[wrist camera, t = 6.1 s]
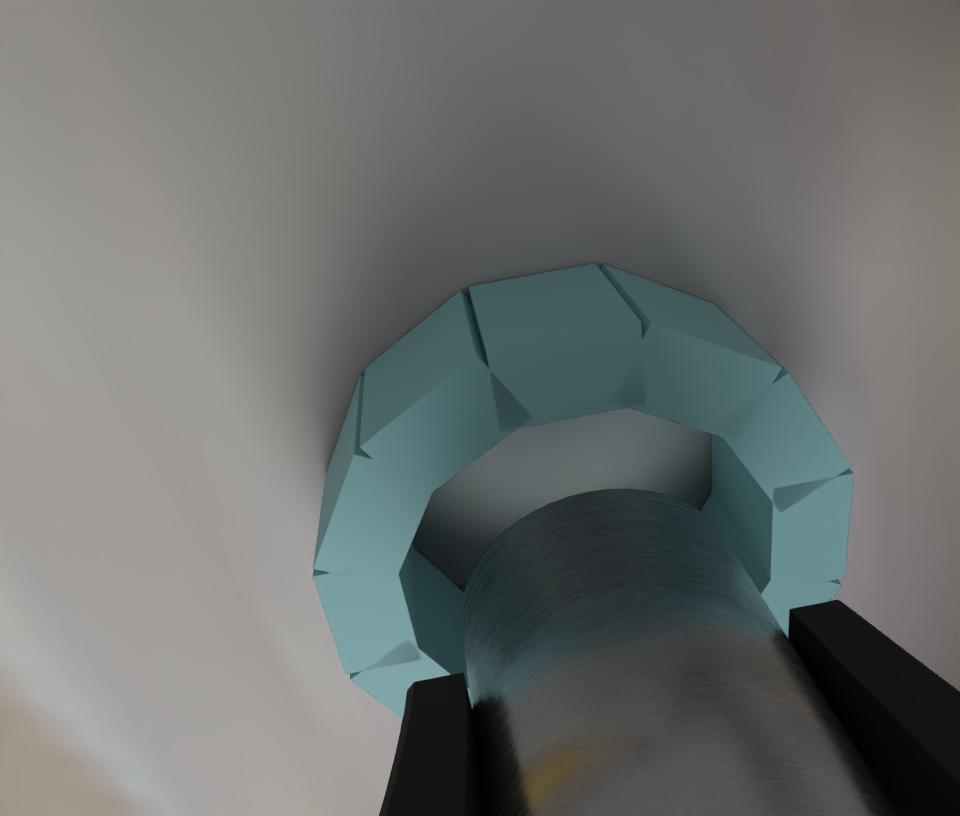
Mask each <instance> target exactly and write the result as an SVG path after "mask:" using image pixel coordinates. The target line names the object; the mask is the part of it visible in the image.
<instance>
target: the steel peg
mask: <svg viewBox="0 0 960 816" xmlns="http://www.w3.org/2000/svg"><path fill="white" fill-rule="evenodd" d="M461 623H462V632H463V641H464V649H465V658H466V666H467V675H468V683H469V692H470V701H471V706H472V712H473V721H474V729H475V738H476V746H477V755H478V763H479V772H480V780H481V793H482V804H483V812H484V816H899V815H898V813H897V812H896V810H895V808H894V807H893V805H892V804H891V802H890V800H889V799H888V797H887V796H886V794H885V792H884V791H883V789H882V788H881V786H880V784H879V783H878V781H877V780H876V778H875V776H874V775H873V773H872V772H871V770H870V768H869V767H868V765H867V764H866V762H865V760H864V759H863V757H862V756H861V754H860V752H859V751H858V749H857V748H856V746H855V744H854V743H853V741H852V740H851V738H850V736H849V735H848V733H847V732H846V730H845V728H844V727H843V725H842V724H841V722H840V720H839V719H838V717H837V716H836V714H835V712H834V711H833V709H832V708H831V706H830V704H829V703H828V701H827V700H826V698H825V696H824V695H823V693H822V692H821V690H820V688H819V687H818V685H817V684H816V682H815V680H814V679H813V677H812V676H811V674H810V672H809V671H808V669H807V668H806V666H805V664H804V663H803V661H802V660H801V658H800V656H799V655H798V653H797V652H796V650H795V648H794V647H793V645H792V644H791V642H790V640H789V639H788V637H787V636H786V634H785V632H784V631H783V629H782V628H781V626H780V624H779V623H778V621H777V620H776V618H775V616H774V615H773V613H772V612H771V610H770V608H769V607H768V605H767V604H766V602H765V600H764V599H763V597H762V596H761V594H760V592H759V591H758V589H757V588H756V586H755V584H754V583H753V581H752V580H751V578H750V576H749V575H748V573H747V572H746V570H745V568H744V567H743V565H742V564H741V562H740V560H739V559H738V557H737V556H736V554H735V552H734V551H733V549H732V548H731V546H730V544H729V543H728V541H727V540H726V538H725V537H724V535H723V534H722V532H721V531H720V530H719V528H718V527H717V526H716V525H715V524H714V523H713V522H712V521H711V520H710V519H709V518H708V517H707V516H705V515H704V514H703V513H701V512H700V511H699V510H697V509H696V508H694V507H692V506H691V505H689V504H687V503H685V502H683V501H681V500H678V499H676V498H673V497H670V496H667V495H664V494H660V493H655V492H651V491H646V490H635V489H606V490H598V491H591V492H586V493H582V494H577V495H573V496H569V497H566V498H564V499H561V500H558V501H555V502H553V503H550V504H548V505H546V506H544V507H542V508H540V509H538V510H535V511H533V512H532V513H530V514H528V515H527V516H525V517H524V518H522V519H520V520H519V521H517V522H516V523H514V524H513V525H512V526H511V527H510V528H508V529H507V530H506V531H505V532H503V533H502V534H501V535H500V536H499V537H498V538H497V539H496V540H495V541H494V542H493V543H492V544H491V545H490V546H489V547H488V548H487V550H486V551H485V552H484V554H483V555H482V556H481V558H480V559H479V560H478V562H477V564H476V566H475V567H474V569H473V571H472V573H471V575H470V577H469V579H468V582H467V585H466V587H465V590H464V595H463V600H462V605H461Z"/></svg>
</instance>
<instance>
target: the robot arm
mask: <svg viewBox="0 0 960 816" xmlns="http://www.w3.org/2000/svg"><path fill="white" fill-rule="evenodd" d="M788 639H789V640H790V642H791V644H792V645H793V647H794V648H795V650H796V652H797V653H798V655H799V656H800V658H801V660H802V661H803V663H804V664H805V666H806V668H807V669H808V671H809V672H810V674H811V676H812V677H813V679H814V680H815V682H816V684H817V685H818V687H819V688H820V690H821V692H822V693H823V695H824V696H825V698H826V700H827V701H828V703H829V704H830V706H831V708H832V709H833V711H834V712H835V714H836V716H837V717H838V719H839V720H840V722H841V724H842V725H843V727H844V728H845V730H846V732H847V733H848V735H849V736H850V738H851V740H852V741H853V743H854V744H855V746H856V748H857V749H858V751H859V752H860V754H861V756H862V757H863V759H864V760H865V762H866V764H867V765H868V767H869V768H870V770H871V772H872V773H873V775H874V776H875V778H876V780H877V781H878V783H879V784H880V786H881V788H882V789H883V791H884V792H885V794H886V796H887V797H888V799H889V800H890V802H891V804H892V805H893V807H894V808H895V810H896V812H897V813H898V815H899V816H960V691H958V690H957V689H956V688H954V687H953V686H952V685H950V684H949V683H948V682H946V681H945V680H944V679H942V678H941V677H940V676H938V675H937V674H936V673H934V672H933V671H932V670H930V669H929V668H928V667H926V666H925V665H924V664H922V663H921V662H920V661H918V660H917V659H916V658H914V657H913V656H912V655H910V654H909V653H908V652H907V651H905V650H904V649H903V648H901V647H900V646H899V645H897V644H896V643H895V642H893V641H892V640H891V639H890V638H888V637H887V636H886V635H884V634H883V633H882V632H880V631H879V630H878V629H877V628H875V627H874V626H873V625H871V624H870V623H869V622H867V621H866V620H865V619H864V618H862V617H861V616H860V615H858V614H857V613H856V612H854V611H853V610H852V609H850V608H849V607H848V606H846V605H845V604H844V603H842V602H841V601H839V600H834V601H828V602H823V603H818V604H813V605H808V606H803V607H797V608H792V609H789V629H788ZM379 816H484V812H483V804H482V793H481V780H480V772H479V763H478V755H477V746H476V738H475V729H474V721H473V712H472V706H471V702H470V698H469V693H468V689H467V685H466V680H465V676H464V672H462V673H457V674H452V675H447V676H442V677H436V678H431V679H426V680H421V681H416V682H414V683H413V684H412V685H411V686H410V687H409V689H408V690H407V694H406V702H405V709H404V715H403V720H402V725H401V731H400V736H399V740H398V745H397V749H396V754H395V758H394V762H393V766H392V770H391V774H390V778H389V782H388V786H387V790H386V793H385V797H384V801H383V804H382V807H381V811H380V814H379Z"/></svg>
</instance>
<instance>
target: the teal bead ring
mask: <svg viewBox="0 0 960 816" xmlns="http://www.w3.org/2000/svg"><path fill="white" fill-rule="evenodd" d="M469 292H470V298H471V302H470V301H469V299H468V298H467V297H466V296H465V295H464V294H463V293H462V291H461V290H460V291H459V292H458V293H456V294H455V295H454V296H453V297H451V298H450V299H449V300H448V301H447V302H445V303H444V304H443V305H442V306H440V307H439V308H438V309H437V310H436V311H434V312H433V313H432V314H431V315H429V316H428V317H427V318H426V319H424V320H423V321H422V322H421V323H420V324H418V325H417V326H416V327H415V328H413V329H412V330H411V331H410V332H409V333H407V334H406V335H405V336H404V337H402V338H401V339H400V340H399V341H398V342H396V343H395V344H394V345H393V346H391V347H390V348H389V349H388V350H386V351H385V352H384V353H383V354H382V355H380V356H379V357H378V358H377V359H375V360H374V361H373V362H372V363H371V364H369V365H368V366H367V367H366V368H365V373H364V376H363V375H360V377H359V380H358V383H357V385H356V388H355V391H354V394H353V397H352V400H351V403H350V406H349V409H348V412H347V414H346V417H345V420H344V423H343V426H342V429H341V432H340V435H339V438H338V441H337V444H336V446H335V449H334V452H333V455H332V458H331V461H330V464H329V467H328V470H327V473H326V476H325V484H324V491H323V499H322V506H321V513H320V521H319V528H318V536H317V543H316V550H315V558H314V565H313V569H314V572H313V578H314V581H315V584H316V587H317V590H318V593H319V596H320V599H321V602H322V605H323V608H324V611H325V614H326V617H327V620H328V623H329V626H330V629H331V632H332V635H333V638H334V641H335V644H336V647H337V650H338V653H339V656H340V659H341V662H342V665H343V668H344V671H345V674H350V680H351V681H352V682H354V683H355V684H356V685H358V686H359V687H360V688H362V689H363V690H364V691H366V692H367V693H368V694H370V695H371V696H373V697H374V698H375V699H377V700H378V701H379V702H381V703H382V704H383V705H385V706H386V707H387V708H389V709H390V710H392V711H393V712H394V713H396V714H397V715H398V716H400V717H401V718H402V719H403V715H404V709H405V702H406V694H407V690H408V689H409V687H410V686H411V685H412V684H413V683H414V682H416V681H421V680H426V679H431V678H436V677H442V676H447V675H452V674H457V673H462V672H464V676H465V680H466V685H467V689H468V693H469V698H470V692H469V683H468V675H467V666H466V658H465V649H464V641H463V632H462V623H461V605H462V600H463V595H464V592H463V591H462V590H461V589H460V588H458V587H457V586H456V585H455V584H454V583H453V582H452V581H451V580H449V579H448V578H447V577H446V576H445V575H444V574H443V573H441V572H440V571H439V570H438V569H437V568H436V567H435V566H434V565H432V564H431V563H430V562H429V561H428V560H427V559H426V558H425V557H423V556H422V555H421V554H420V553H419V552H418V551H417V550H415V549H414V547H413V543H412V540H413V538H414V536H415V533H416V531H417V528H418V526H419V524H420V521H421V519H422V516H423V514H424V512H425V509H426V507H427V504H428V502H429V500H430V497H431V495H432V492H433V491H435V490H436V489H437V488H439V487H440V486H441V485H443V484H444V483H445V482H447V481H448V480H449V479H451V478H452V477H453V476H455V475H456V474H457V473H459V472H460V471H461V470H463V469H464V468H465V467H467V466H468V465H469V464H471V463H472V462H473V461H475V460H476V459H477V458H479V457H480V456H481V455H483V454H484V453H485V452H487V451H488V450H489V449H491V448H492V447H493V446H495V445H496V444H497V443H499V442H500V441H501V440H503V439H504V438H505V437H507V436H508V435H509V434H511V433H512V432H513V431H515V430H516V429H517V428H521V427H526V426H531V425H537V424H542V423H547V422H553V421H558V420H563V419H569V418H574V417H579V416H585V415H590V414H595V413H600V412H606V411H611V410H616V409H622V408H627V407H628V408H631V409H634V410H638V411H641V412H644V413H647V414H650V415H654V416H657V417H660V418H663V419H667V420H670V421H673V422H676V423H679V424H683V425H686V426H689V427H692V428H695V429H699V430H702V431H705V432H708V433H711V454H712V492H711V494H710V495H709V497H708V499H707V501H706V502H705V504H704V506H703V507H702V509H701V511H700V512H701V513H703V514H704V515H705V516H707V517H708V518H709V519H710V520H711V521H712V522H713V523H714V524H715V525H716V526H717V527H718V528H719V530H720V531H721V532H722V534H723V535H724V537H725V538H726V540H727V541H728V543H729V544H730V546H731V548H732V549H733V551H734V552H735V554H736V556H737V557H738V559H739V560H740V562H741V564H742V565H743V567H744V568H745V570H746V572H747V573H748V575H749V576H750V578H751V580H752V581H753V583H754V584H755V586H756V588H757V589H758V591H759V592H760V594H761V596H762V597H763V599H764V600H765V602H766V604H767V605H768V607H769V608H770V610H771V612H772V613H773V615H774V616H775V618H776V620H777V621H778V623H779V624H780V626H781V628H782V629H783V631H784V632H785V634H786V636H787V637H788V629H789V609H792V608H797V607H803V606H808V605H813V604H818V603H823V602H828V601H830V600H831V599H832V597H833V596H834V595H835V593H836V592H837V590H838V589H839V588H840V586H841V584H840V582H839V581H838V580H837V579H842V578H844V576H845V565H846V554H847V542H848V531H849V520H850V509H851V498H852V487H853V475H854V473H853V472H852V471H851V470H850V469H849V468H850V467H852V466H851V464H850V463H849V461H848V460H847V458H846V457H845V455H844V454H843V452H842V451H841V449H840V448H839V446H838V445H837V443H836V442H835V440H834V439H833V437H832V436H831V435H830V433H829V432H828V430H827V429H826V427H825V426H824V424H823V423H822V421H821V420H820V418H819V417H818V415H817V414H816V412H815V411H814V409H813V408H812V406H811V405H810V403H809V402H808V400H807V399H806V397H805V396H804V395H803V393H802V392H801V390H800V389H799V387H798V386H797V384H796V383H795V381H794V380H793V378H792V377H791V375H790V374H789V372H787V371H786V370H785V369H784V368H783V367H782V366H781V365H780V364H779V363H778V362H777V361H776V360H775V359H773V358H772V357H771V356H770V355H769V354H768V353H767V352H766V351H765V350H764V349H763V348H762V347H761V346H760V345H758V344H757V343H756V342H755V341H754V340H753V339H752V338H751V337H750V336H749V335H748V334H747V333H746V332H745V331H743V330H742V329H741V328H740V327H739V326H738V325H737V324H736V323H735V322H734V321H733V320H732V319H731V318H729V317H728V316H727V315H726V314H725V313H724V312H723V311H722V310H721V309H720V308H718V307H717V306H715V305H714V304H713V303H711V302H708V301H705V300H702V299H700V298H697V297H694V296H691V295H689V294H686V293H683V292H680V291H678V290H675V289H672V288H669V287H667V286H664V285H661V284H658V283H655V282H653V281H650V280H647V279H644V278H642V277H639V276H636V275H633V274H631V273H628V272H625V271H622V270H620V269H617V268H614V267H611V266H608V265H606V264H603V266H602V269H601V270H600V269H599V267H598V266H597V265H596V264H595V263H593V264H587V265H582V266H577V267H571V268H566V269H560V270H555V271H550V272H544V273H539V274H533V275H528V276H522V277H517V278H512V279H506V280H501V281H495V282H490V283H484V284H479V285H474V286H469ZM470 702H471V701H470Z"/></svg>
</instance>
